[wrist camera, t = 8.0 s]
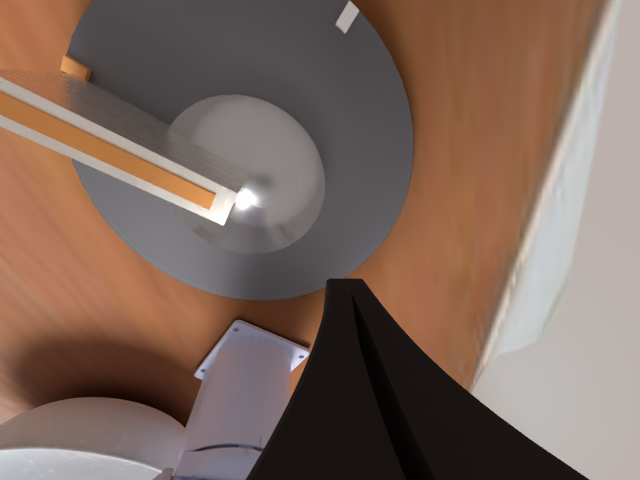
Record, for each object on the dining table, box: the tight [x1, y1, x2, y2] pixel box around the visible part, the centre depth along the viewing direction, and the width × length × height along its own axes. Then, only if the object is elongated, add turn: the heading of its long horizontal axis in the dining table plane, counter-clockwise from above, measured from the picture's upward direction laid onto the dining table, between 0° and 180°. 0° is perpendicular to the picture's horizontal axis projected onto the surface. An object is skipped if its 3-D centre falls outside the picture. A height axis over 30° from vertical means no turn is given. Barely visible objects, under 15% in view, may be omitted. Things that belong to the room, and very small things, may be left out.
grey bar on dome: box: [0, 69, 325, 254], centre depth 13 cm, size 14×9×5 cm, turn 60°
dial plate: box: [61, 0, 414, 301], centre depth 16 cm, size 20×20×1 cm
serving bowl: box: [0, 397, 185, 480], centre depth 28 cm, size 21×21×7 cm
